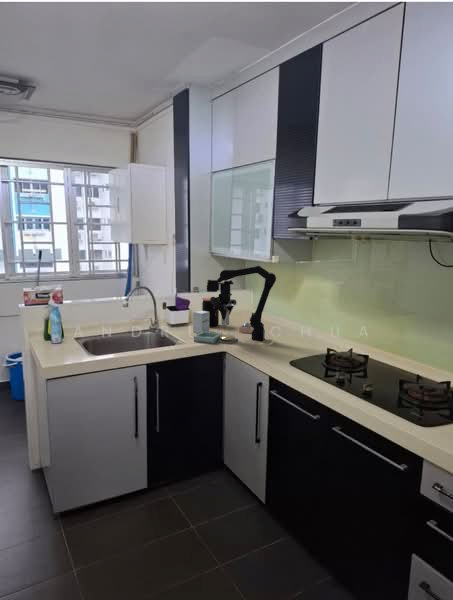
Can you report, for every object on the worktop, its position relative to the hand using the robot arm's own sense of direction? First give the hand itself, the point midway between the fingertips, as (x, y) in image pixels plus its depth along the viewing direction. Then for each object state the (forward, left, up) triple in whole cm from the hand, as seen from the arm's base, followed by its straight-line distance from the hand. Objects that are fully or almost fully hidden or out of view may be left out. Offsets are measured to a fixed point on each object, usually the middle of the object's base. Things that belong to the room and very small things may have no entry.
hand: (225, 319), depth 226 cm
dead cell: (-6, -20, -11) cm, 23 cm away
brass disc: (-3, +3, -10) cm, 11 cm away
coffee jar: (+22, -28, -12) cm, 37 cm away
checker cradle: (-3, +3, -12) cm, 13 cm away
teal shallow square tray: (+8, +5, -12) cm, 15 cm away
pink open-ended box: (-6, -20, -12) cm, 24 cm away
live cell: (0, 0, -3) cm, 3 cm away
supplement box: (+20, -10, -12) cm, 25 cm away
